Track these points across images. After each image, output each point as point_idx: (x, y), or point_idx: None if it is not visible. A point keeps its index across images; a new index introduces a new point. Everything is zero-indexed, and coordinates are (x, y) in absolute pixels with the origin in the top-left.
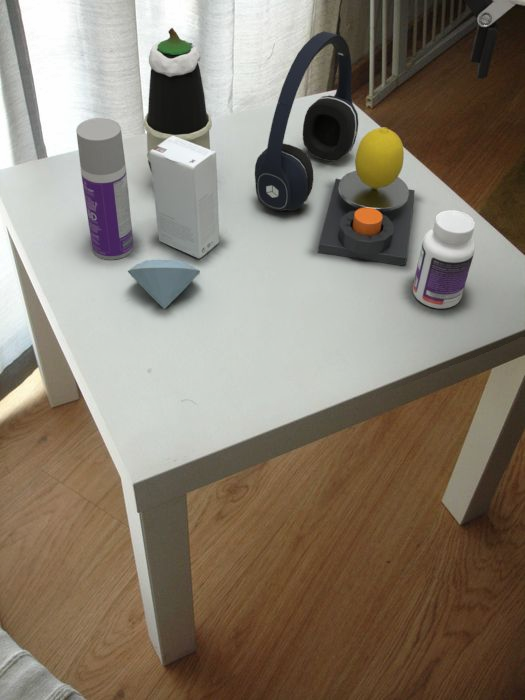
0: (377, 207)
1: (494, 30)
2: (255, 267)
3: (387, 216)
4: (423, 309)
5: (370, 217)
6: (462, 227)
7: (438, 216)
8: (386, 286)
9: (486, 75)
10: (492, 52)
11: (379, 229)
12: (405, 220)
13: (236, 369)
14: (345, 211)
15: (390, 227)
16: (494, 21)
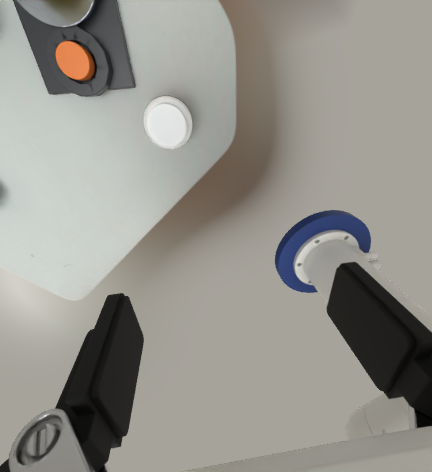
0: (72, 22)
1: (118, 444)
2: (18, 138)
3: None
4: None
5: (76, 64)
6: (175, 135)
7: (148, 123)
8: (130, 124)
9: (142, 344)
10: (135, 387)
11: (93, 68)
12: (110, 7)
13: (76, 238)
14: None
15: (102, 57)
16: (106, 465)
